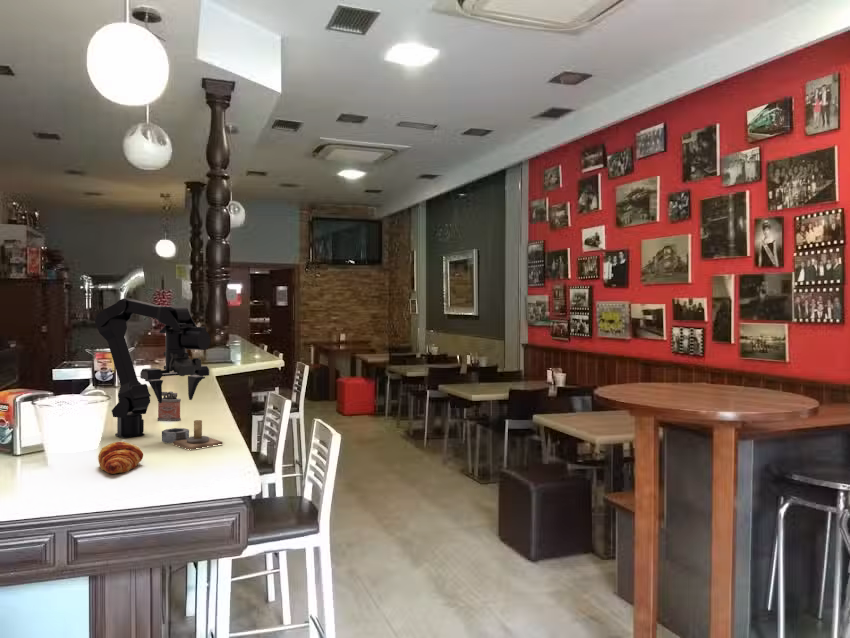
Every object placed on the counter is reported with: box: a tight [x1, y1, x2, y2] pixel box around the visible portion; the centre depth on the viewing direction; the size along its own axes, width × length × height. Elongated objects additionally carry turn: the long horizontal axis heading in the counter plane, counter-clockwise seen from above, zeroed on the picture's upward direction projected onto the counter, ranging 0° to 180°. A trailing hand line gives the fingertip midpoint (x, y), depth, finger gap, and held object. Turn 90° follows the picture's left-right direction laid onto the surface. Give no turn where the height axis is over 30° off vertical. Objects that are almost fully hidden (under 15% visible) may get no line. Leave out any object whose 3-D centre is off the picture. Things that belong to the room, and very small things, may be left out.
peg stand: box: [172, 419, 224, 451], centre depth 185 cm, size 10×10×7 cm
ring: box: [161, 427, 190, 444], centre depth 190 cm, size 7×7×3 cm
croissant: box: [97, 441, 144, 475], centre depth 160 cm, size 21×10×8 cm, turn 20°
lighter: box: [157, 390, 182, 422], centre depth 223 cm, size 8×3×10 cm, turn 84°
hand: (175, 401), depth 190 cm, fingers open, 9 cm apart
